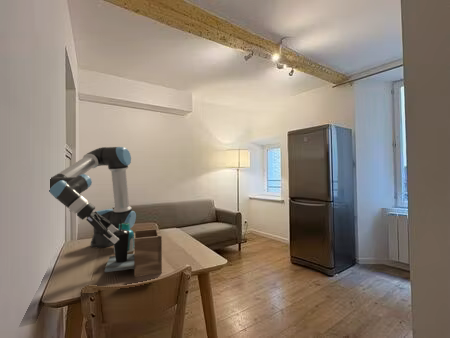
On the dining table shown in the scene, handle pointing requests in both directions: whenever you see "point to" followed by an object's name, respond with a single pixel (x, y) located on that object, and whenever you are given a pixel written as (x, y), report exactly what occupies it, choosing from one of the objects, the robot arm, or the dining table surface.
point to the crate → (142, 254)
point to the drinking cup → (121, 244)
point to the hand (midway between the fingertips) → (118, 238)
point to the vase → (131, 238)
